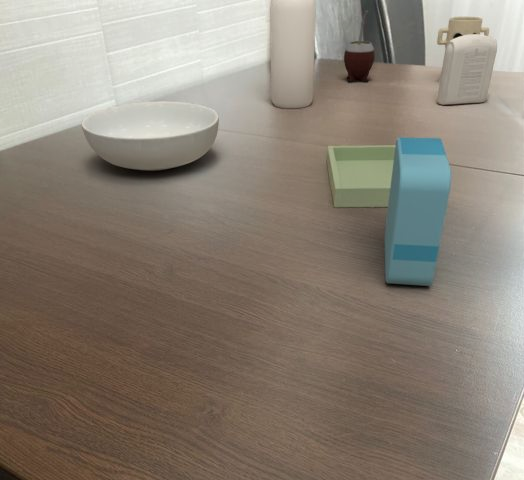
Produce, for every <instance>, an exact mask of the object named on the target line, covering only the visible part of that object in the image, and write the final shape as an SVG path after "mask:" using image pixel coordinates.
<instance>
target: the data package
mask: <svg viewBox="0 0 524 480" xmlns="http://www.w3.org/2000/svg"><path fill="white" fill-rule="evenodd" d="M395 145H396V146H395V154H394V162H393V170H392V178H391V187H390V195H389V203H388V207H387V213H386V219H385V229H384V273H385V282H386V283H387V284H391V285H392V284H393V285H409V286H426V287H429V286H431V285H432V283H433V281H434V277H435V271H436V266H437V262H438V255H439V252H440V251H439V250H440V245H441V241H442V240H441V239H442V235H443V234H442V233H443V229H444V223H445V218H446V214H447V208H448V203H449V199H450V198H449V197H450V192H451V185H452V170H451V166H450V163H449V160H448V156H447V152H446V150H445V147H444V143H443V140H442V138H439V137H438V138H437V137H436V138H435V137H403V136H401V137H397V138H396V141H395Z"/></svg>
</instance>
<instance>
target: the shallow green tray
mask: <svg viewBox="0 0 524 480" xmlns="http://www.w3.org/2000/svg"><path fill="white" fill-rule="evenodd" d="M395 146H396V144H392V145H391V144H390V145H389V144H388V145H386V144H385V145H384V144H383V145H382V144H381V145H380V144H379V145H327V146H326V147H327V148H326V149H327V150H326V166H327V173H328V178H329V185H330V189H331V196H332V201H333V202H332V203H333V207H334V208H388V203H389V195H390V187H391V178H392V170H393V162H394V154H395Z"/></svg>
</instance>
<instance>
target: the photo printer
mask: <svg viewBox="0 0 524 480" xmlns="http://www.w3.org/2000/svg"><path fill="white" fill-rule="evenodd" d="M497 51H498V41H497V38H494V37H491V36H490V35H488V36H485V35H484V34H481V33H480V34H469V35H464V36H460V37H457V38H455V39H452V40H450V41H449V42H448V43H447V46H446V49H445V48H444V55H443V60H442V67H441V72H440V77H439V78H440V79H439V84H438V90H437V97H436V98H437V99H436V101H437V103H438V104H439V105H442V106H445V105H446V106H447V105H460V104H463V105H464V104H475V103H485V102H486V100H487V98H488V93H489V90H490V89H489V88H490V85H491V80H492V75H493V70H494V66H495V61H496V56H497Z"/></svg>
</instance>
